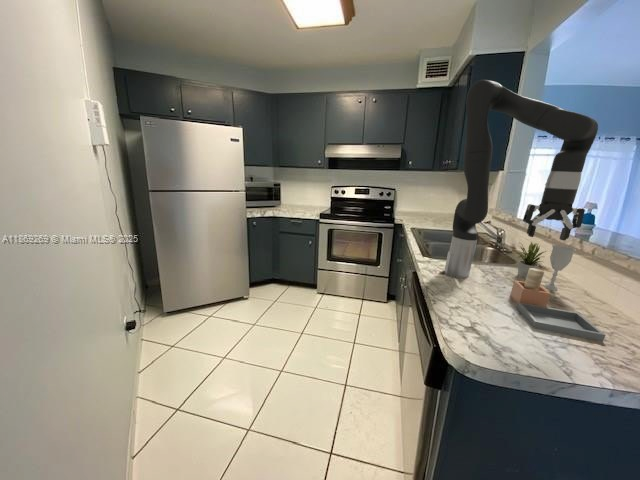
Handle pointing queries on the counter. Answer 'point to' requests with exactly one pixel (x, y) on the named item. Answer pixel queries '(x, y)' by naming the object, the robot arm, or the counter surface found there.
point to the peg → (533, 279)
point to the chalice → (559, 262)
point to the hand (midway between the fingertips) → (546, 238)
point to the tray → (560, 321)
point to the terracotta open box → (529, 294)
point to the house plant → (528, 259)
